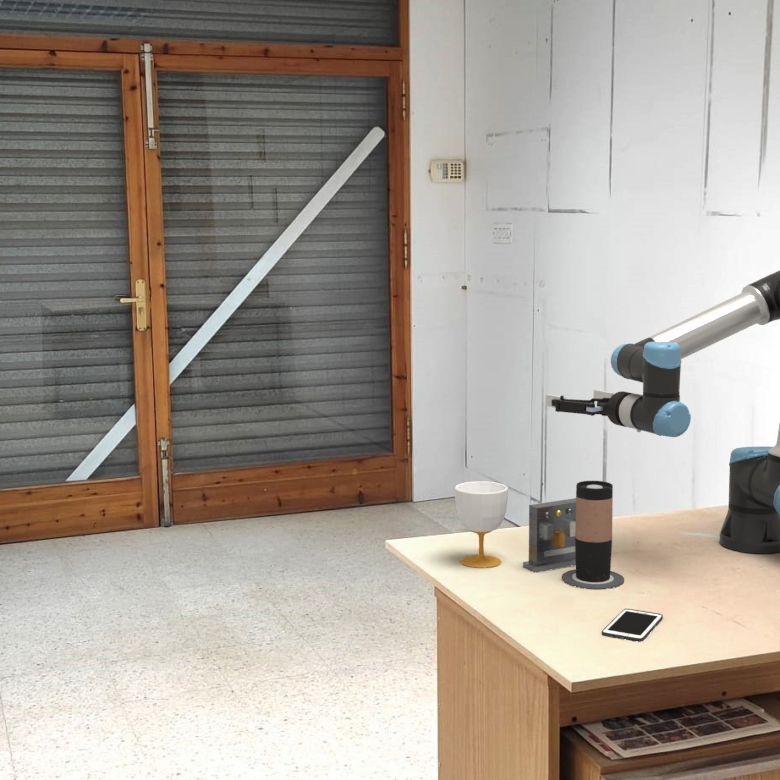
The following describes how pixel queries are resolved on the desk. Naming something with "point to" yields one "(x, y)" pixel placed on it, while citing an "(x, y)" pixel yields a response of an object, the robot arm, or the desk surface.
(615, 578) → the pad
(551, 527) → the breaker panel
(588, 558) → the travel mug
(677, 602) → the desk surface
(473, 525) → the cup
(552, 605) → the desk surface
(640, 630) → the cell phone
